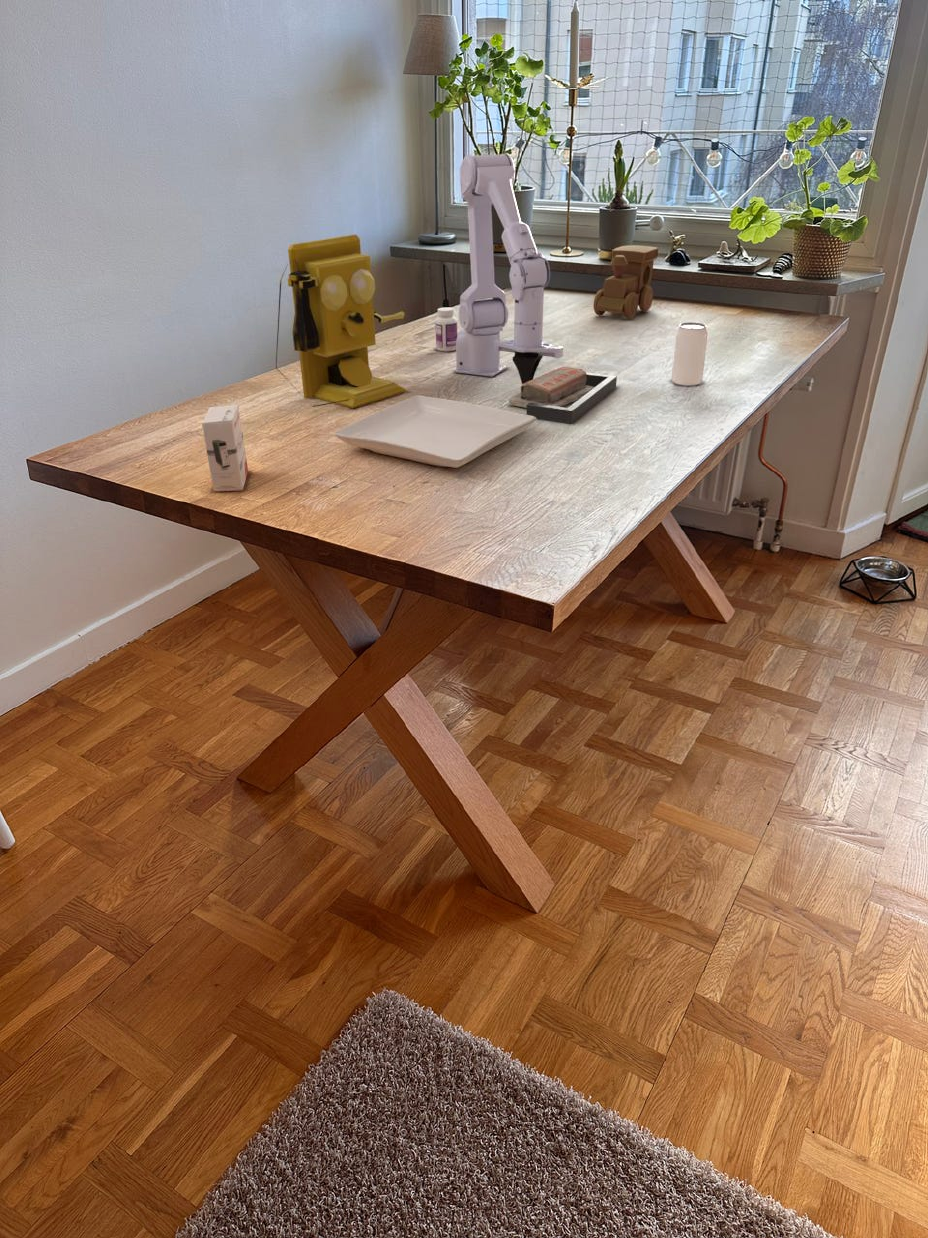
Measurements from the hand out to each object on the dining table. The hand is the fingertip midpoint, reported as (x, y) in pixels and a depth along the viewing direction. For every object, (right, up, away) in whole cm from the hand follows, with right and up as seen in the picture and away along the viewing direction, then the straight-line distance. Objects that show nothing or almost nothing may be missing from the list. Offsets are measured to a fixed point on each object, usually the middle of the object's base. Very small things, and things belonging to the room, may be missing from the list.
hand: (527, 388), depth 186 cm
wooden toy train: (+32, +38, +66) cm, 82 cm away
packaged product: (+5, -3, -2) cm, 6 cm away
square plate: (-18, -16, -23) cm, 33 cm away
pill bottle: (-17, +19, +35) cm, 43 cm away
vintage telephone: (-37, -1, +3) cm, 37 cm away
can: (+35, +3, +7) cm, 36 cm away
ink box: (-52, -25, -38) cm, 69 cm away
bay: (+8, -3, -3) cm, 10 cm away
